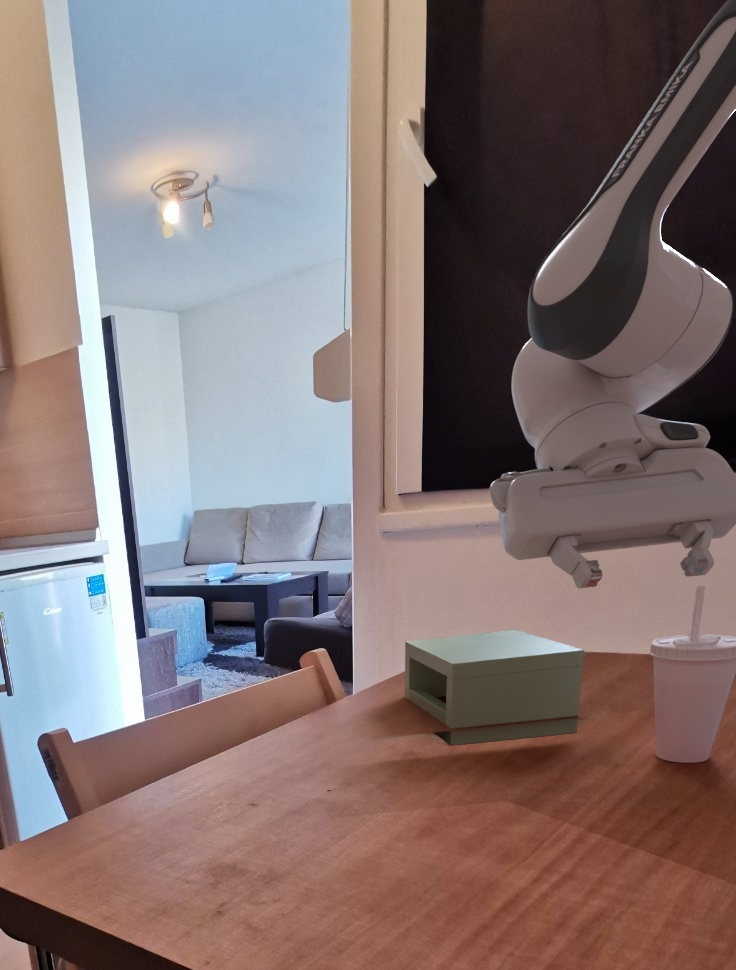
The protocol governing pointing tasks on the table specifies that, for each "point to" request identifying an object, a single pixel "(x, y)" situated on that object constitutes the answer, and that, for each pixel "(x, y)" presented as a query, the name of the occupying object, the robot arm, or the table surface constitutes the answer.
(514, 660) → the shelf
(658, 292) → the robot arm
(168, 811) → the table surface
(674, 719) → the smoothie
